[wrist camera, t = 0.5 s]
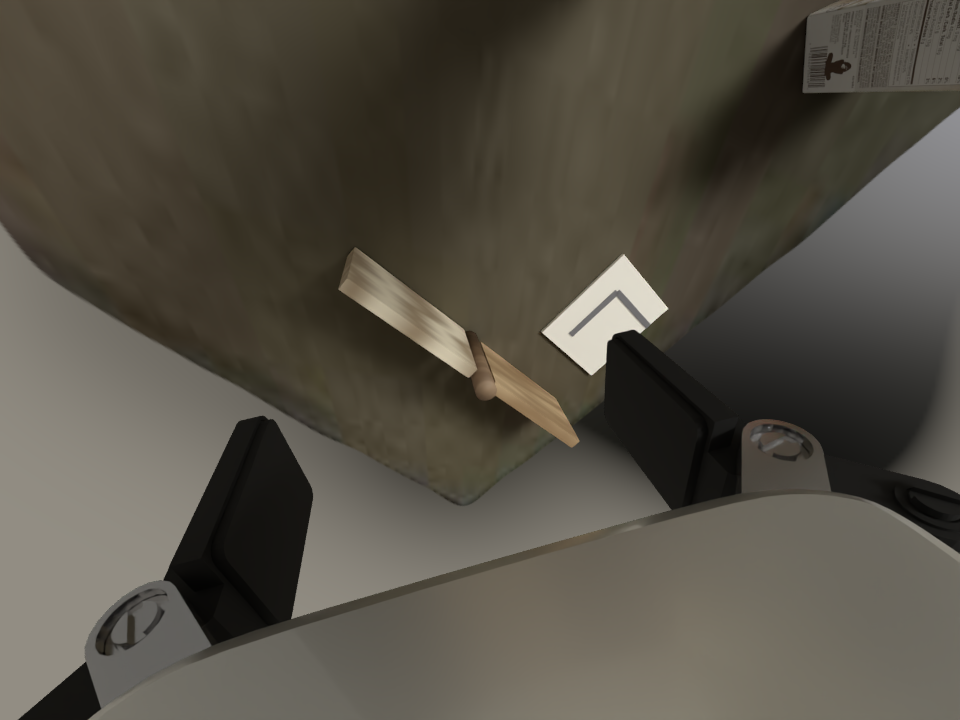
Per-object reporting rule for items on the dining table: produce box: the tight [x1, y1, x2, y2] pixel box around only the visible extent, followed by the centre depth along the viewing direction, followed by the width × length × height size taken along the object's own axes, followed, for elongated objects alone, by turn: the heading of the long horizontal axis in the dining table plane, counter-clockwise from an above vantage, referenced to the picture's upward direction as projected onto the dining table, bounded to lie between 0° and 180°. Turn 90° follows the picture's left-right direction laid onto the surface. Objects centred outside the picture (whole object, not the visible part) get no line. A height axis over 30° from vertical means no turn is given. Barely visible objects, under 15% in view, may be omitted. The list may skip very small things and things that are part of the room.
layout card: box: [541, 254, 668, 375], centre depth 47 cm, size 12×10×1 cm
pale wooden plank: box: [338, 247, 477, 378], centre depth 37 cm, size 14×1×8 cm, turn 46°
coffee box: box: [803, 0, 960, 93], centre depth 29 cm, size 9×6×16 cm
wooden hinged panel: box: [465, 331, 579, 447], centre depth 44 cm, size 2×16×10 cm, turn 46°
